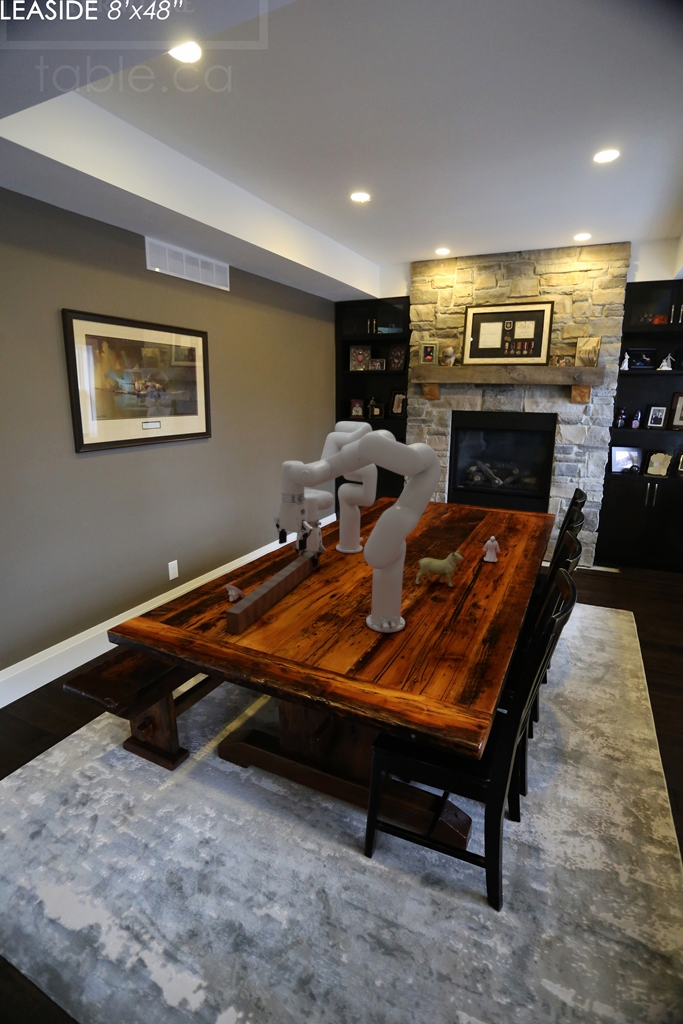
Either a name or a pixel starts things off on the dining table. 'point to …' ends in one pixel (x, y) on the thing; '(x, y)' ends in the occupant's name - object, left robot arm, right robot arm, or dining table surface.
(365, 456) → the right robot arm
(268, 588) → the beam
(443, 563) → the toy
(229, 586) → the seashell
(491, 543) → the figurine
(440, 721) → the dining table surface
